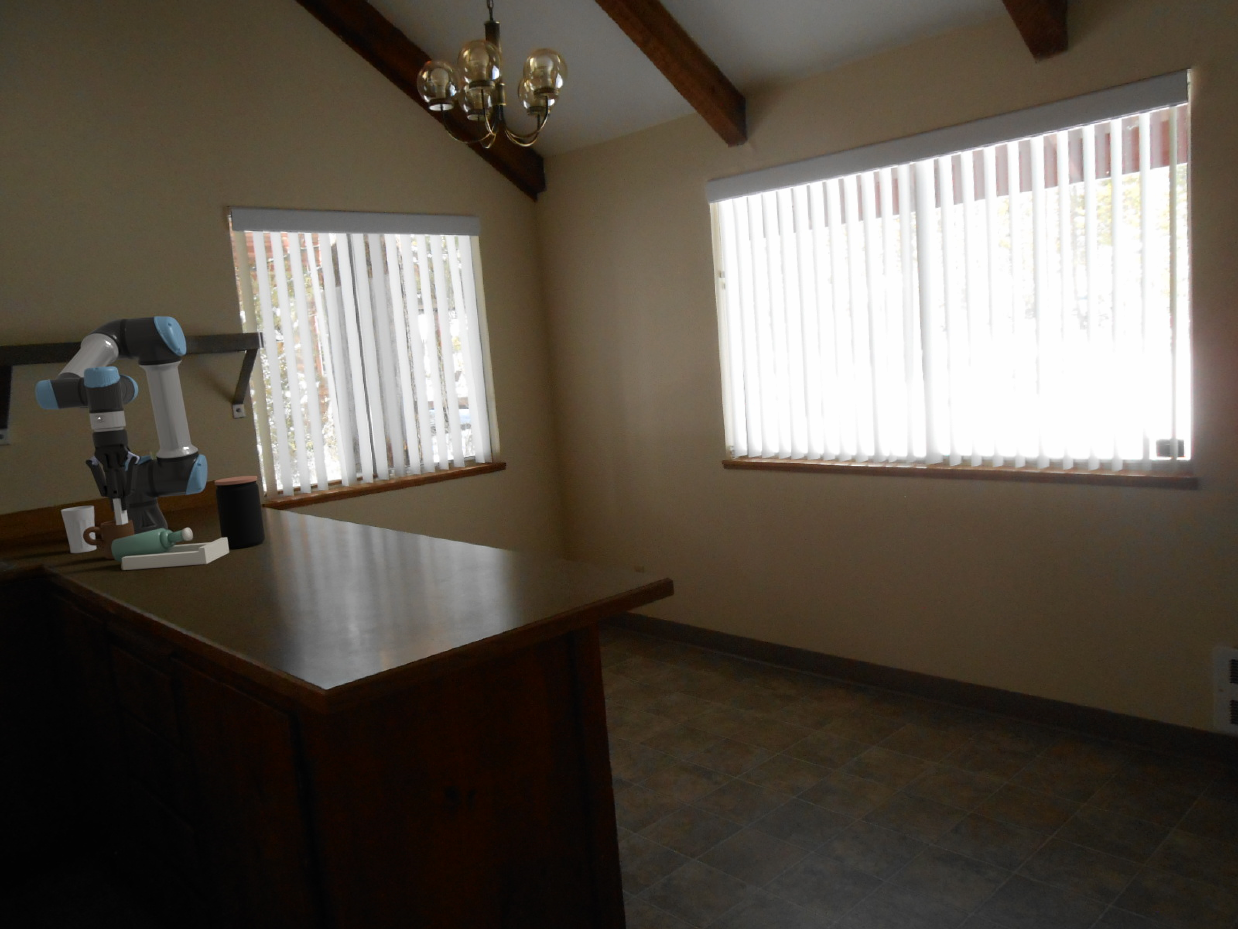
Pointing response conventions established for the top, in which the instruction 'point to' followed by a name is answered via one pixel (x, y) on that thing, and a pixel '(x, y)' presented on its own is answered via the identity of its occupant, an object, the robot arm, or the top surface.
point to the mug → (108, 535)
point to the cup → (78, 527)
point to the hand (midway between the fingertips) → (122, 523)
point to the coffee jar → (240, 511)
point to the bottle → (148, 542)
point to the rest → (179, 555)
